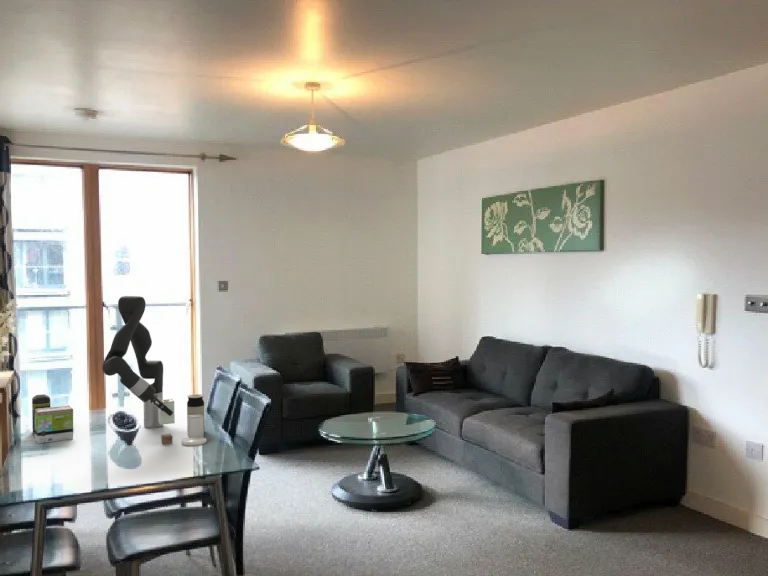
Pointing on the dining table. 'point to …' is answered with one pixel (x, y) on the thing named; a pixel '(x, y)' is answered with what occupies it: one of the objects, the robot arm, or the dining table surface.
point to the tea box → (53, 424)
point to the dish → (193, 441)
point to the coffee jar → (39, 405)
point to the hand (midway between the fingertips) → (170, 412)
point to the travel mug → (195, 406)
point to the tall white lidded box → (195, 426)
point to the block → (166, 439)
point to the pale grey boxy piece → (163, 416)
